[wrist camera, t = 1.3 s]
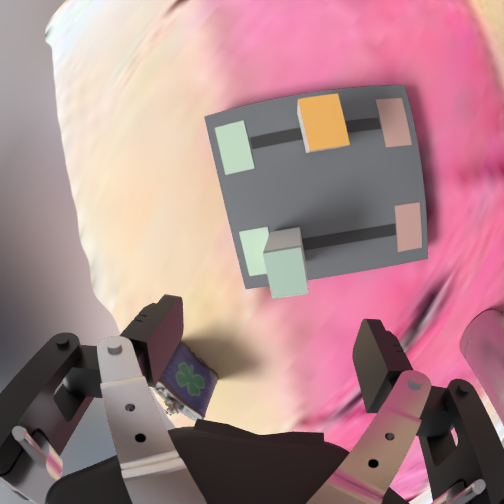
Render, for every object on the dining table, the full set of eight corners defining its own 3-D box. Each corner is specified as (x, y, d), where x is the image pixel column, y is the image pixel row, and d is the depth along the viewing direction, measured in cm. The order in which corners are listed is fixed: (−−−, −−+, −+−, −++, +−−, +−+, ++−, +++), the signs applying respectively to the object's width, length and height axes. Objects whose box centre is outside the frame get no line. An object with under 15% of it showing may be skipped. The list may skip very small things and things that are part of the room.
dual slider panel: (395, 90, 24) (404, 84, 21) (417, 250, 30) (428, 259, 27) (212, 120, 29) (204, 116, 26) (249, 278, 34) (245, 289, 31)
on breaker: (299, 227, 27) (300, 247, 21) (306, 264, 29) (308, 293, 22) (270, 232, 28) (262, 253, 22) (277, 268, 29) (272, 298, 23)
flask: (222, 377, 40) (203, 429, 30) (209, 383, 41) (189, 433, 31) (179, 337, 39) (148, 386, 29) (167, 344, 40) (136, 392, 30)
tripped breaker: (327, 108, 23) (337, 93, 17) (336, 148, 24) (349, 145, 18) (297, 113, 24) (297, 99, 18) (306, 153, 25) (310, 150, 19)
